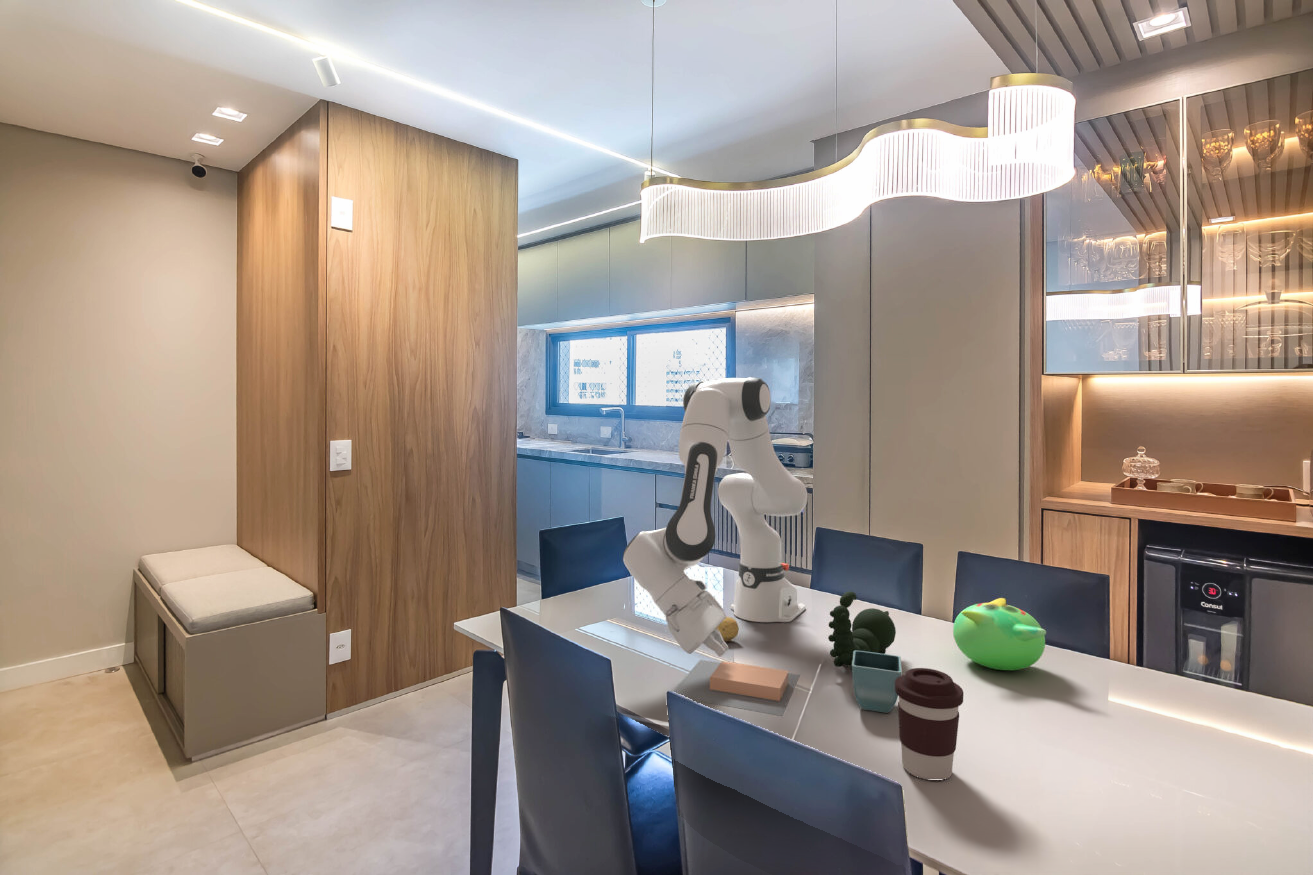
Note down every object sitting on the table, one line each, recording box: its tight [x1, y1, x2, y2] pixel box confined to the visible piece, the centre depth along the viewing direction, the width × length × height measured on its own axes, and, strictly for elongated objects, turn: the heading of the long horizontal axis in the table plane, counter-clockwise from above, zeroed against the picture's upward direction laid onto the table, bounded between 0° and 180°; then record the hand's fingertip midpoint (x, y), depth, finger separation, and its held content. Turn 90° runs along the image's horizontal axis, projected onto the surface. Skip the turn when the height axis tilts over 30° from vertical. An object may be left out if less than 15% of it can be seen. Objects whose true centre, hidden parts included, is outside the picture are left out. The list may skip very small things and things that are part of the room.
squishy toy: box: [952, 597, 1047, 671], centre depth 144 cm, size 18×17×15 cm
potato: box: [717, 615, 740, 642], centre depth 160 cm, size 7×11×6 cm, turn 45°
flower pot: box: [851, 650, 903, 714], centre depth 124 cm, size 9×9×9 cm
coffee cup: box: [895, 667, 964, 780], centre depth 102 cm, size 10×10×15 cm
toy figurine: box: [827, 590, 897, 672], centre depth 146 cm, size 9×19×25 cm
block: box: [710, 660, 789, 701], centre depth 131 cm, size 3×9×14 cm
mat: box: [673, 659, 800, 717], centre depth 132 cm, size 22×20×1 cm
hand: (724, 652), depth 133 cm, fingers closed
